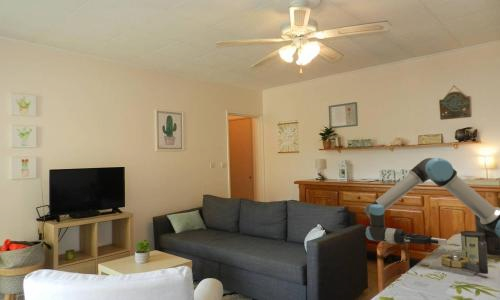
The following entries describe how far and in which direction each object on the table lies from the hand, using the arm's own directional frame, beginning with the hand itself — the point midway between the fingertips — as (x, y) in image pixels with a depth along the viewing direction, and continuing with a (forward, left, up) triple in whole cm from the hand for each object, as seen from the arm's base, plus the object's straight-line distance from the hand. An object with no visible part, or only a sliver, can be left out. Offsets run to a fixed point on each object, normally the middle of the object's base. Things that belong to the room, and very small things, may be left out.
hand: (446, 242), depth 159 cm
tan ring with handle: (-3, +6, -11) cm, 13 cm away
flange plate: (-6, +3, -13) cm, 14 cm away
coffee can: (-22, +6, -13) cm, 26 cm away
